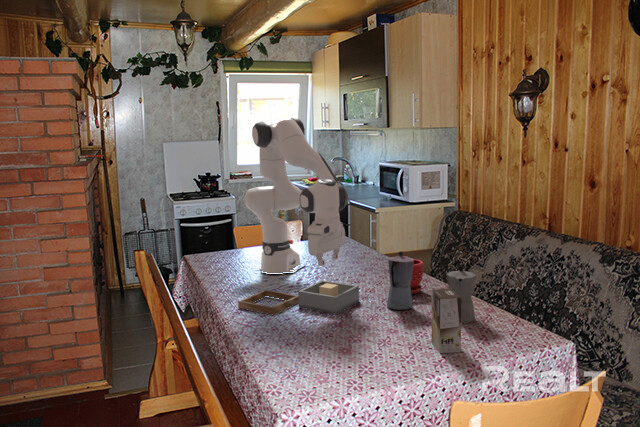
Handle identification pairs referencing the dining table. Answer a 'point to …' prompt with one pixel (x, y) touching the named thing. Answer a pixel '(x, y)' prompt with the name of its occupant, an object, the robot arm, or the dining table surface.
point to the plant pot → (416, 276)
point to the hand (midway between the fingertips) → (328, 262)
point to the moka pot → (400, 282)
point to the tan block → (329, 289)
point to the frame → (249, 305)
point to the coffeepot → (463, 291)
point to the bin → (328, 298)
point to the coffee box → (446, 320)
